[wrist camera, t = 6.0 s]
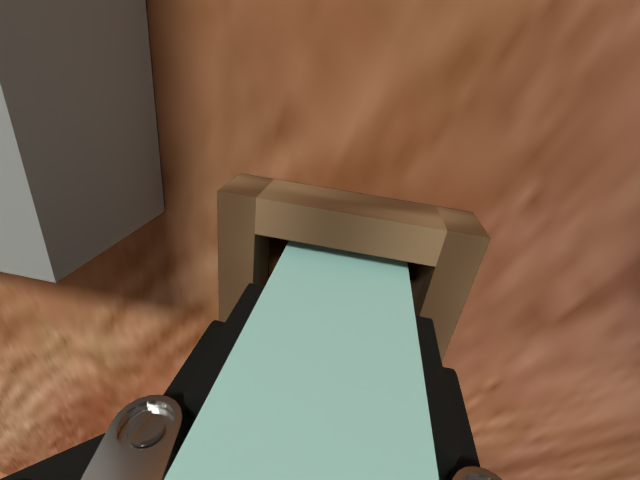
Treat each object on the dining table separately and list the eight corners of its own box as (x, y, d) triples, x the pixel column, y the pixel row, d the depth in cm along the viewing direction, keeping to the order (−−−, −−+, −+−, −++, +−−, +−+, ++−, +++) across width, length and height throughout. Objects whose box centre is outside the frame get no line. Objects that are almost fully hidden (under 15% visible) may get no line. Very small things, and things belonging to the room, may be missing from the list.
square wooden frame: (472, 212, 11) (490, 238, 10) (413, 379, 15) (418, 421, 13) (240, 173, 12) (217, 191, 10) (237, 343, 16) (220, 378, 14)
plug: (405, 252, 12) (528, 1094, 2) (381, 337, 14) (389, 994, 4) (293, 231, 12) (-46, 880, 2) (285, 318, 14) (73, 881, 4)
